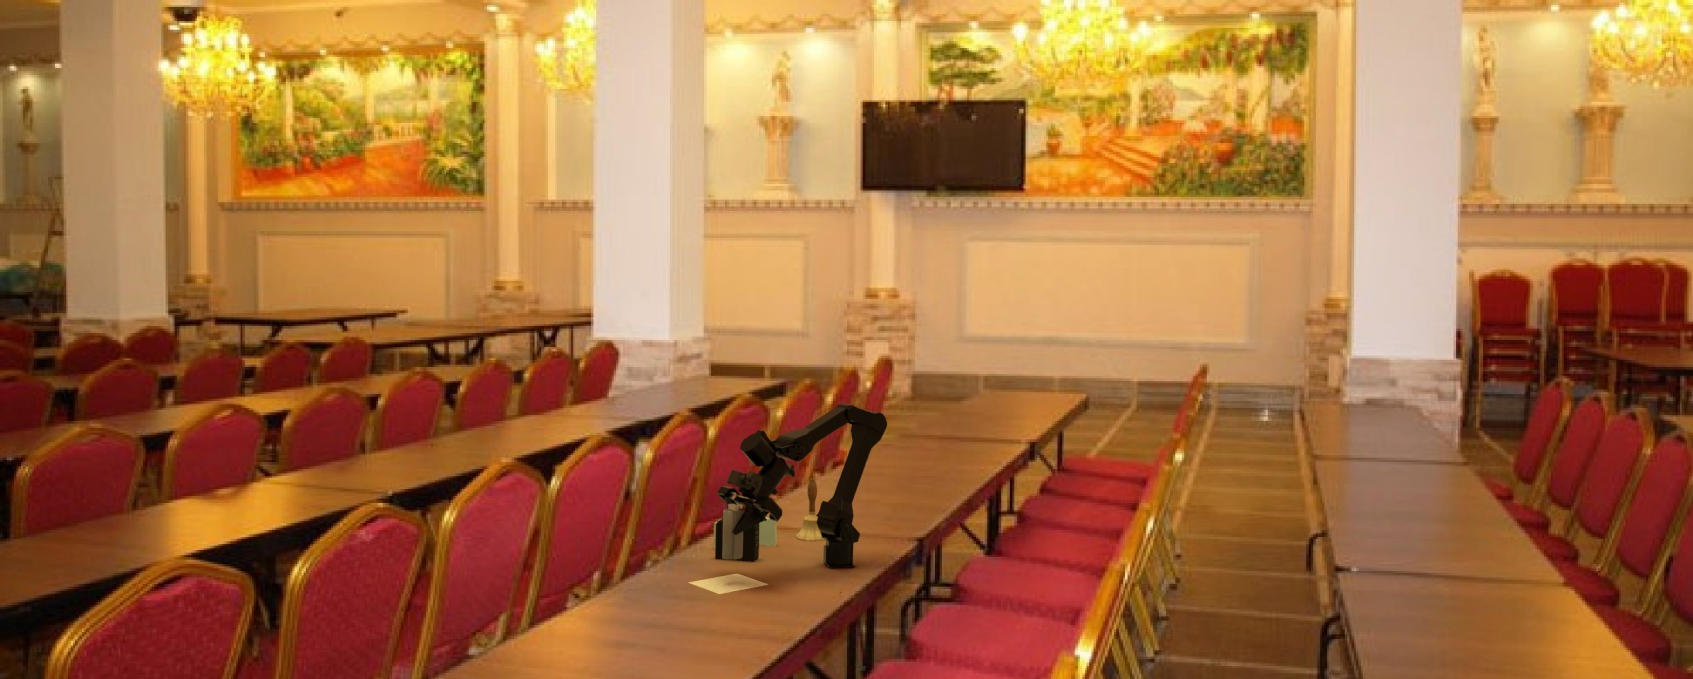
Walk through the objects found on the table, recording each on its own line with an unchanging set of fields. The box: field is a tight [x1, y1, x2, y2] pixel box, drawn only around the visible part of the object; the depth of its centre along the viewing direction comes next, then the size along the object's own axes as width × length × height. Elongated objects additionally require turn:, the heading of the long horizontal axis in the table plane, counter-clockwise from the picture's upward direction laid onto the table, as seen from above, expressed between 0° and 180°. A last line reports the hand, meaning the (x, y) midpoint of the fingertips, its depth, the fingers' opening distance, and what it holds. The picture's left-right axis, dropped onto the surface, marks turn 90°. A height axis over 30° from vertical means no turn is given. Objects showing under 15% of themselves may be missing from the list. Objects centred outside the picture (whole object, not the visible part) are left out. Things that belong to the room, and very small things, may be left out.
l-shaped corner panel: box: [713, 517, 778, 551], centre depth 345 cm, size 12×12×8 cm
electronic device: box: [714, 517, 760, 563], centre depth 332 cm, size 4×10×10 cm, turn 78°
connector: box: [722, 504, 745, 561], centre depth 308 cm, size 5×4×12 cm
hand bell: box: [795, 477, 826, 542], centre depth 359 cm, size 8×8×16 cm
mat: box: [688, 573, 770, 595], centre depth 308 cm, size 14×12×1 cm
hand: (728, 531), depth 307 cm, fingers closed on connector, 4 cm apart
